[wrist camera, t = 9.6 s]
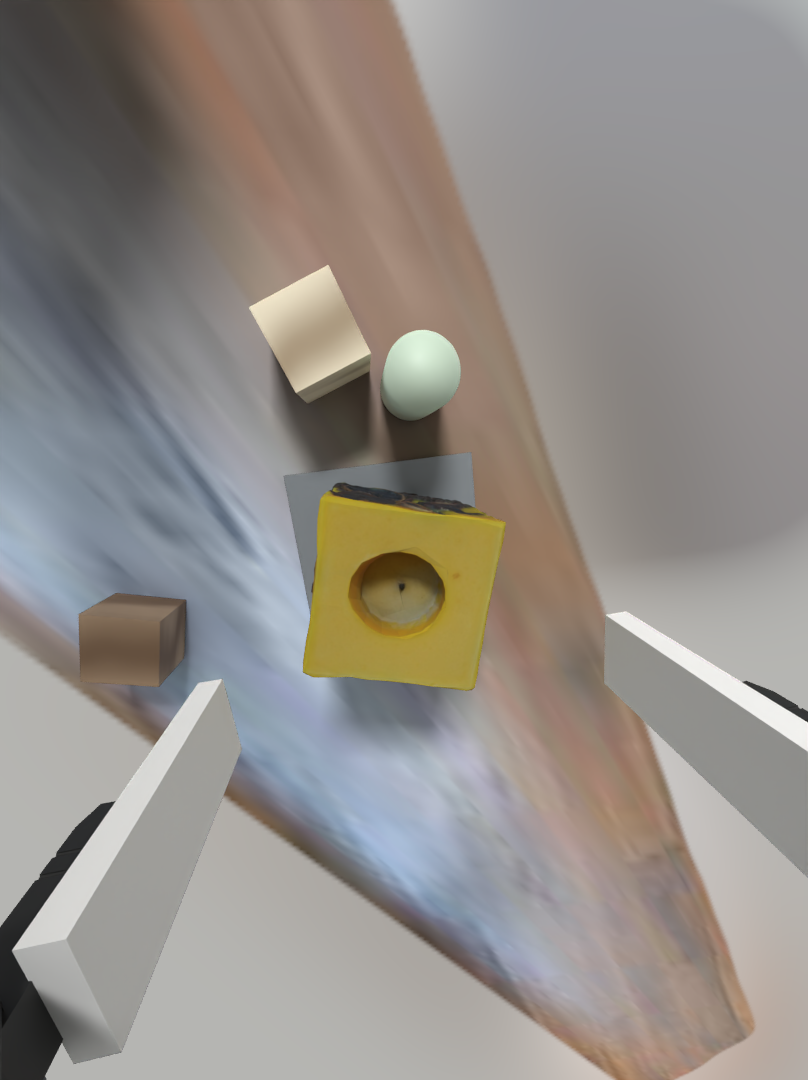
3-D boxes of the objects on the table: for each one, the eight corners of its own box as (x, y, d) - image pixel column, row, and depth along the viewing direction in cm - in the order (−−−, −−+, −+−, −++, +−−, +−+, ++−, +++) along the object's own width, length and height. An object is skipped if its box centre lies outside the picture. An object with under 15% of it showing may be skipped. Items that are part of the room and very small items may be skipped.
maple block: (270, 334, 26) (248, 307, 21) (334, 300, 26) (328, 264, 21) (308, 404, 27) (295, 392, 22) (369, 371, 27) (370, 353, 22)
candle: (442, 620, 31) (478, 696, 21) (319, 608, 30) (297, 683, 20) (465, 499, 29) (516, 522, 19) (333, 480, 28) (318, 494, 18)
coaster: (285, 475, 28) (283, 475, 27) (469, 452, 29) (471, 452, 28) (317, 644, 31) (317, 648, 30) (481, 618, 32) (483, 621, 31)
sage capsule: (376, 360, 27) (380, 333, 21) (436, 353, 27) (457, 326, 21) (384, 424, 28) (390, 416, 22) (442, 417, 28) (463, 407, 22)
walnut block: (117, 592, 28) (78, 614, 25) (187, 599, 29) (160, 621, 25) (117, 651, 29) (80, 681, 26) (184, 657, 30) (158, 686, 26)
